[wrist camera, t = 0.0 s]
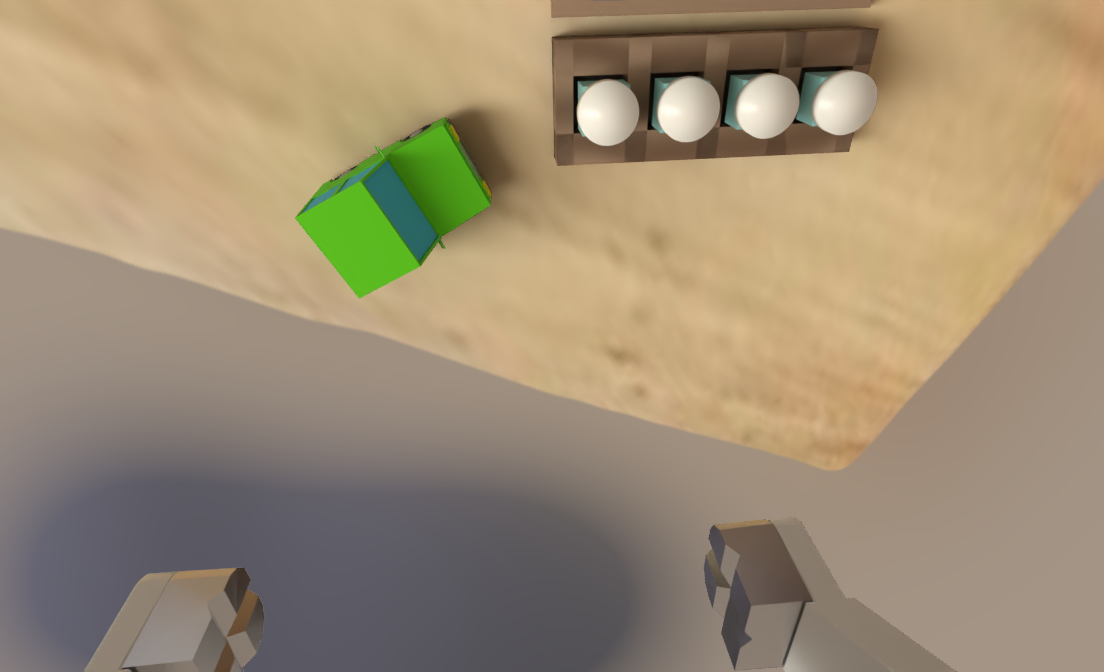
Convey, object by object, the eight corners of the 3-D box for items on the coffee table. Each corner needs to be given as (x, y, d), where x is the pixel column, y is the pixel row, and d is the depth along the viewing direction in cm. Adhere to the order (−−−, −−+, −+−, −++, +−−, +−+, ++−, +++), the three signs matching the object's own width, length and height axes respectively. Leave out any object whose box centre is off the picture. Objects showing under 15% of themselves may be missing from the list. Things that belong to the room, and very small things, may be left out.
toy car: (500, 198, 56) (501, 237, 47) (385, 260, 58) (366, 307, 50) (442, 98, 51) (432, 122, 42) (318, 170, 53) (285, 206, 45)
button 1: (571, 74, 48) (578, 82, 44) (629, 72, 48) (640, 80, 44) (572, 134, 50) (578, 147, 47) (626, 132, 51) (637, 144, 47)
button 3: (725, 69, 49) (745, 76, 45) (781, 66, 49) (804, 73, 45) (718, 128, 51) (736, 139, 47) (771, 126, 51) (792, 137, 48)
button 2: (649, 72, 48) (662, 79, 44) (705, 69, 48) (723, 77, 45) (645, 131, 51) (658, 143, 47) (699, 129, 51) (715, 140, 47)
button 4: (800, 66, 49) (826, 73, 45) (855, 64, 49) (884, 70, 46) (789, 125, 52) (812, 136, 48) (841, 122, 52) (868, 133, 48)
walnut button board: (551, 37, 49) (555, 40, 46) (859, 26, 51) (878, 29, 48) (554, 157, 54) (557, 165, 52) (832, 143, 56) (848, 151, 53)
